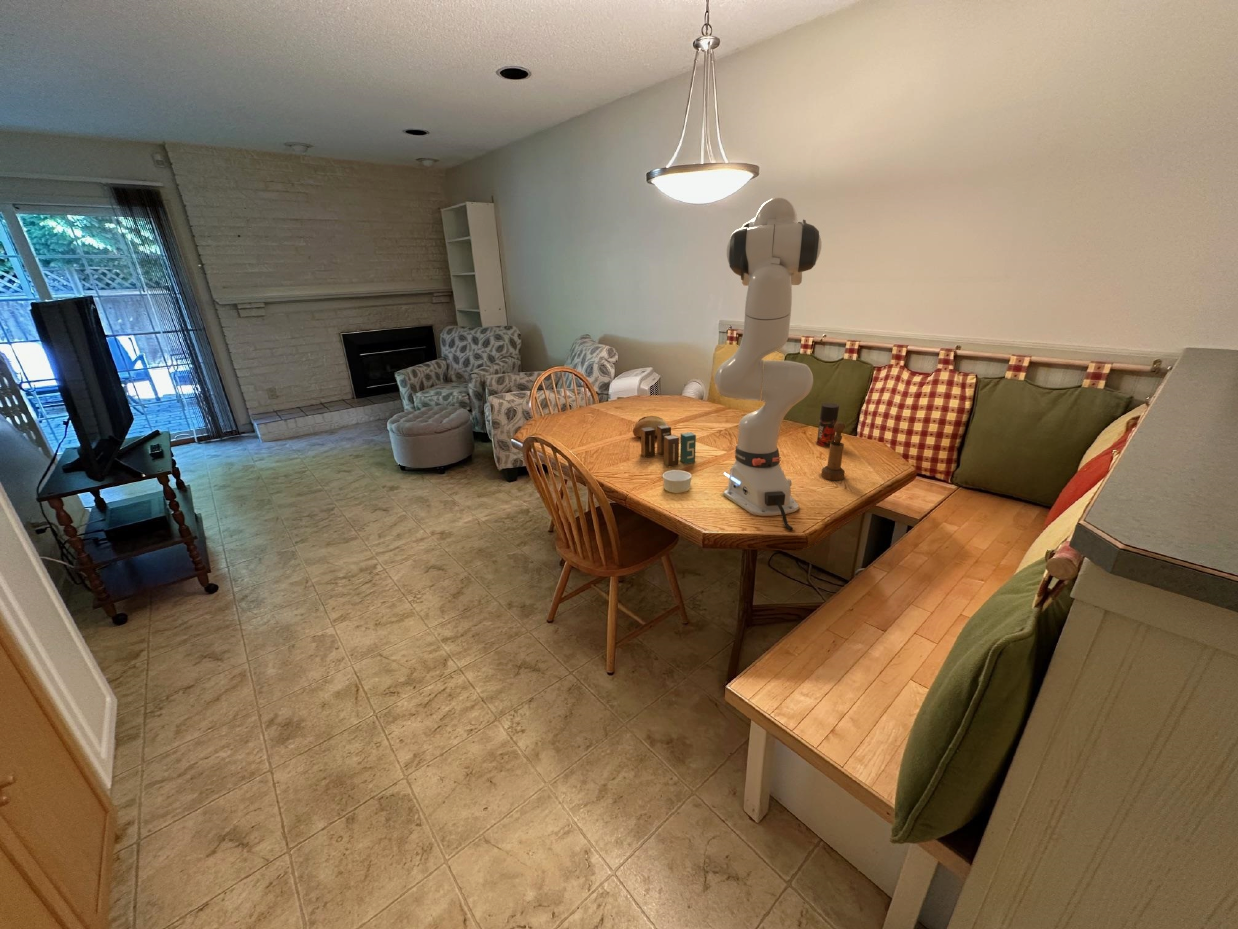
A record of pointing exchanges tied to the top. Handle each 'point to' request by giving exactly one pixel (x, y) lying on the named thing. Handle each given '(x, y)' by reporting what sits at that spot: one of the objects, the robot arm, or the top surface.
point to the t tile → (662, 437)
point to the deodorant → (827, 424)
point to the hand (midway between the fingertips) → (770, 295)
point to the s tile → (688, 447)
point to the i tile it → (647, 442)
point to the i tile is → (671, 450)
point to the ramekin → (677, 481)
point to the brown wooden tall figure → (835, 456)
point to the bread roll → (648, 424)
